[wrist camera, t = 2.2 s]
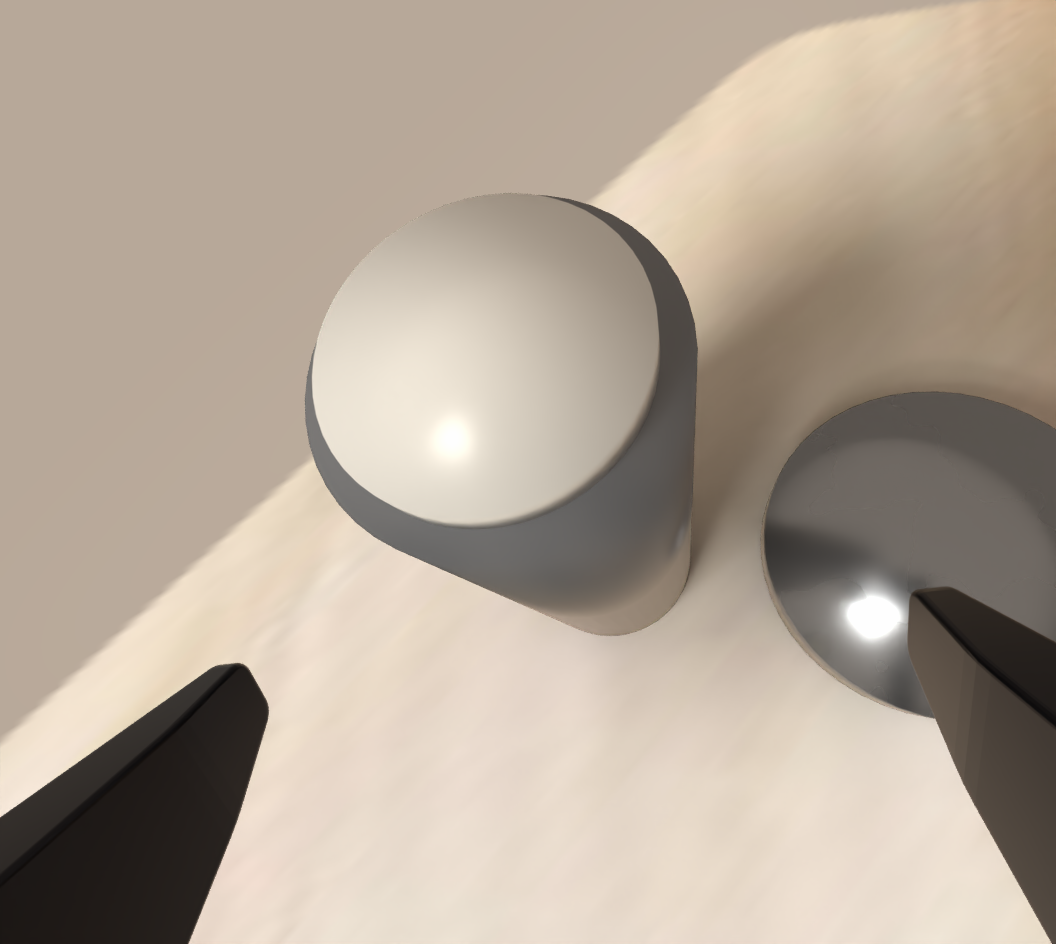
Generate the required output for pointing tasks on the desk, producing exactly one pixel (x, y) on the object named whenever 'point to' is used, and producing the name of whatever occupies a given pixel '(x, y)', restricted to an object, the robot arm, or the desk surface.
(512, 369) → the dark gray cylinder
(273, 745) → the desk surface
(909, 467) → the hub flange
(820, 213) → the desk surface
